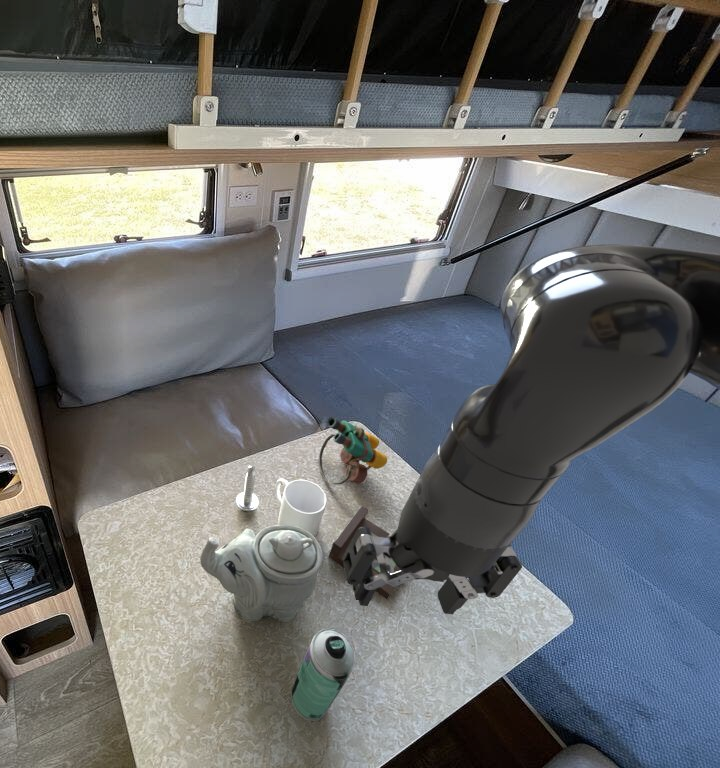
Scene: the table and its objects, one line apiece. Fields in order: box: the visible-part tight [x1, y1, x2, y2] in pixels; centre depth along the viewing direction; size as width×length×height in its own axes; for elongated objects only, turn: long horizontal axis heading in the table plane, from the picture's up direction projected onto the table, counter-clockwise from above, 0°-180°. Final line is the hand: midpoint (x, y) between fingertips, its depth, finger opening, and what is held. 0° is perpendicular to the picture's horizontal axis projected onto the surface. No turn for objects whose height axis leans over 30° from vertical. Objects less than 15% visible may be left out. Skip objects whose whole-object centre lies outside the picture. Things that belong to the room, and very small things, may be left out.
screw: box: [235, 465, 259, 513], centre depth 85 cm, size 13×5×5 cm
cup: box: [274, 478, 328, 538], centre depth 83 cm, size 8×12×10 cm
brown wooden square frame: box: [327, 505, 400, 601], centre depth 78 cm, size 12×12×5 cm
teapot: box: [199, 524, 324, 623], centre depth 68 cm, size 16×15×19 cm
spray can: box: [290, 628, 356, 722], centre depth 55 cm, size 6×6×20 cm
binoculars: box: [318, 416, 388, 486], centre depth 94 cm, size 14×14×15 cm
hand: (402, 600), depth 42 cm, fingers open, 8 cm apart
